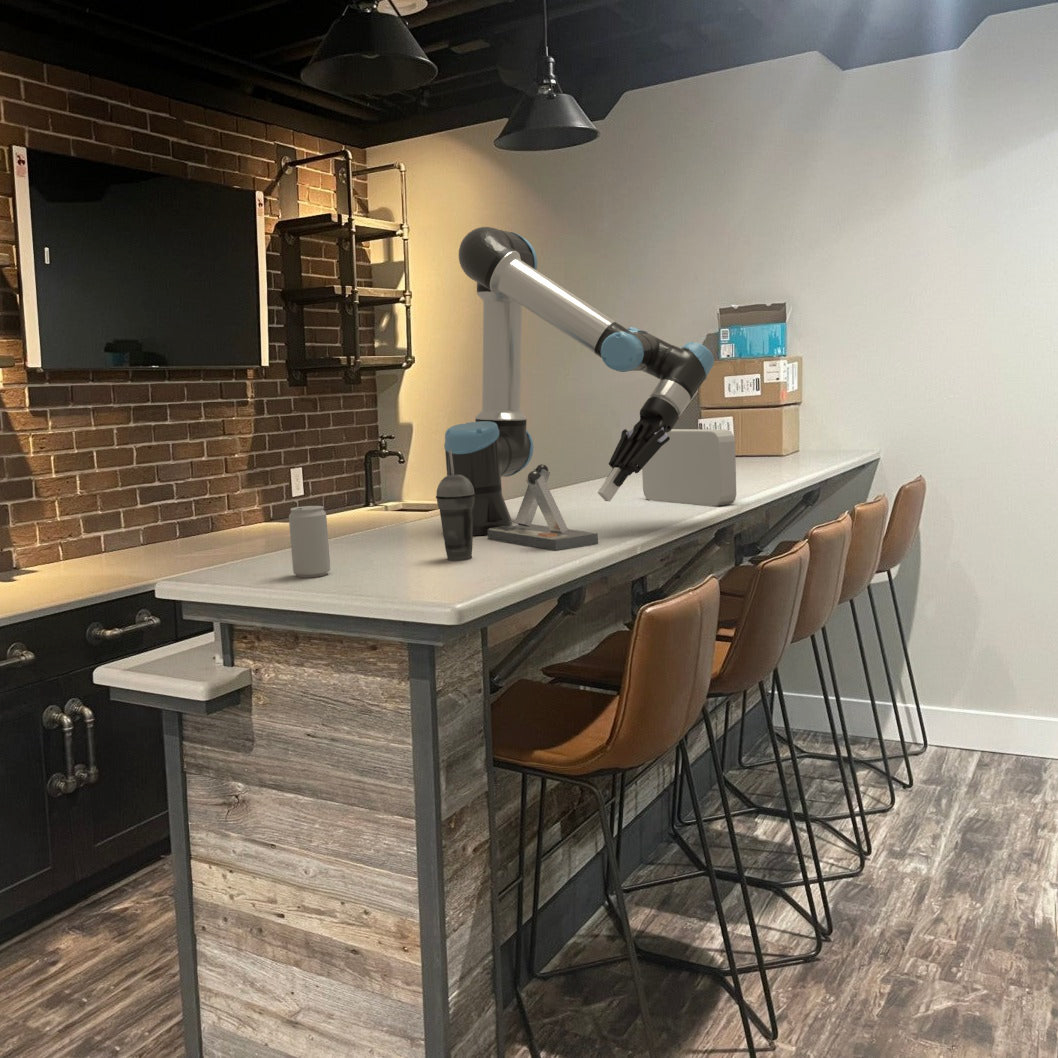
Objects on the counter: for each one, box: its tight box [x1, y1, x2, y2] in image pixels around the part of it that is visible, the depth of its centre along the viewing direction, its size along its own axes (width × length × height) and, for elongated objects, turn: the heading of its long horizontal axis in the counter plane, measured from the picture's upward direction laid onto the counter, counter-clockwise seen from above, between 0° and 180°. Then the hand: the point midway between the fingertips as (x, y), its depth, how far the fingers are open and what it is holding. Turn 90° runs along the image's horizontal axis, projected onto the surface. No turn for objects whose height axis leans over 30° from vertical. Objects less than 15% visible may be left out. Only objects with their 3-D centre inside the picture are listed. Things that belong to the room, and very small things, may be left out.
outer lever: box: [525, 470, 568, 534], centre depth 197 cm, size 3×4×13 cm
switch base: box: [487, 523, 599, 552], centre depth 206 cm, size 10×24×3 cm, turn 34°
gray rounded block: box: [641, 428, 737, 507], centre depth 257 cm, size 29×8×18 cm, turn 33°
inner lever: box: [514, 463, 551, 527], centre depth 212 cm, size 3×4×13 cm
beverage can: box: [288, 505, 331, 579], centre depth 180 cm, size 6×6×12 cm
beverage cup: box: [435, 450, 475, 562], centre depth 189 cm, size 7×7×20 cm
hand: (603, 496), depth 205 cm, fingers closed
